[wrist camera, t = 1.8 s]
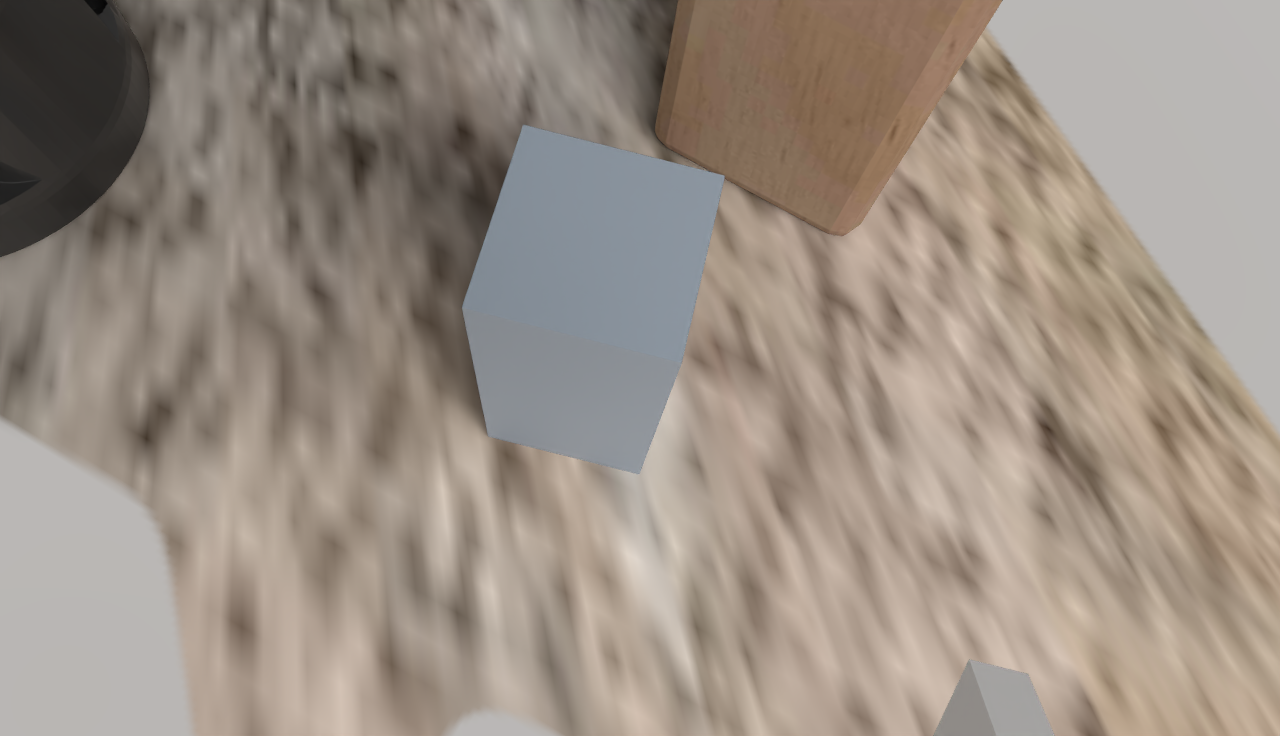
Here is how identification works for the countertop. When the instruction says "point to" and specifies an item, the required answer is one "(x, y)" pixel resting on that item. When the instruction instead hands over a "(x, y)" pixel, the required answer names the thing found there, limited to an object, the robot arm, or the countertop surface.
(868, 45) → the wooden block
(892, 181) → the countertop surface
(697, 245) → the slate block
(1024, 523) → the countertop surface
